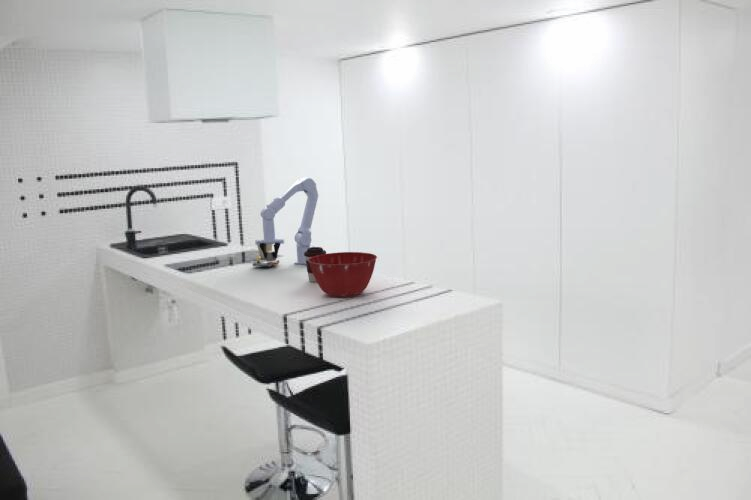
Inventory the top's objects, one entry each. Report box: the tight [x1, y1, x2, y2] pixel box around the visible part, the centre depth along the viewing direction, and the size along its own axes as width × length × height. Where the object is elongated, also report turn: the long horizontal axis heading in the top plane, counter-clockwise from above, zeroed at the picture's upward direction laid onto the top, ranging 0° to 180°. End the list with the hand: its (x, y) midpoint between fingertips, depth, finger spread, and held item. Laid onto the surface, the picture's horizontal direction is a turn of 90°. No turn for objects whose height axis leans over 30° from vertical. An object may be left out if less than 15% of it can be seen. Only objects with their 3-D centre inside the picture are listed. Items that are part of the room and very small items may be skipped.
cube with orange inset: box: [265, 250, 277, 261], centre depth 340 cm, size 4×4×4 cm
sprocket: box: [251, 255, 280, 268], centre depth 342 cm, size 14×14×4 cm
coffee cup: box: [304, 246, 327, 283], centre depth 304 cm, size 10×10×15 cm
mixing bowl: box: [308, 251, 378, 298], centre depth 277 cm, size 28×28×16 cm
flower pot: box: [256, 242, 274, 260], centre depth 366 cm, size 9×9×9 cm
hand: (271, 257), depth 341 cm, fingers closed on cube with orange inset, 5 cm apart
